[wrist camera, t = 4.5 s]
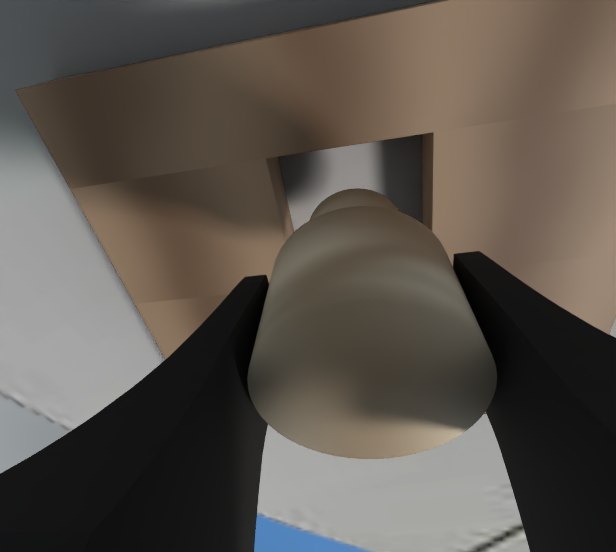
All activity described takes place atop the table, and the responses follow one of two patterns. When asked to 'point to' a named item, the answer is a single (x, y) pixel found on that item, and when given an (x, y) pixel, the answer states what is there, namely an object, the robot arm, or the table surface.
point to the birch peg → (368, 336)
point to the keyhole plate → (349, 131)
